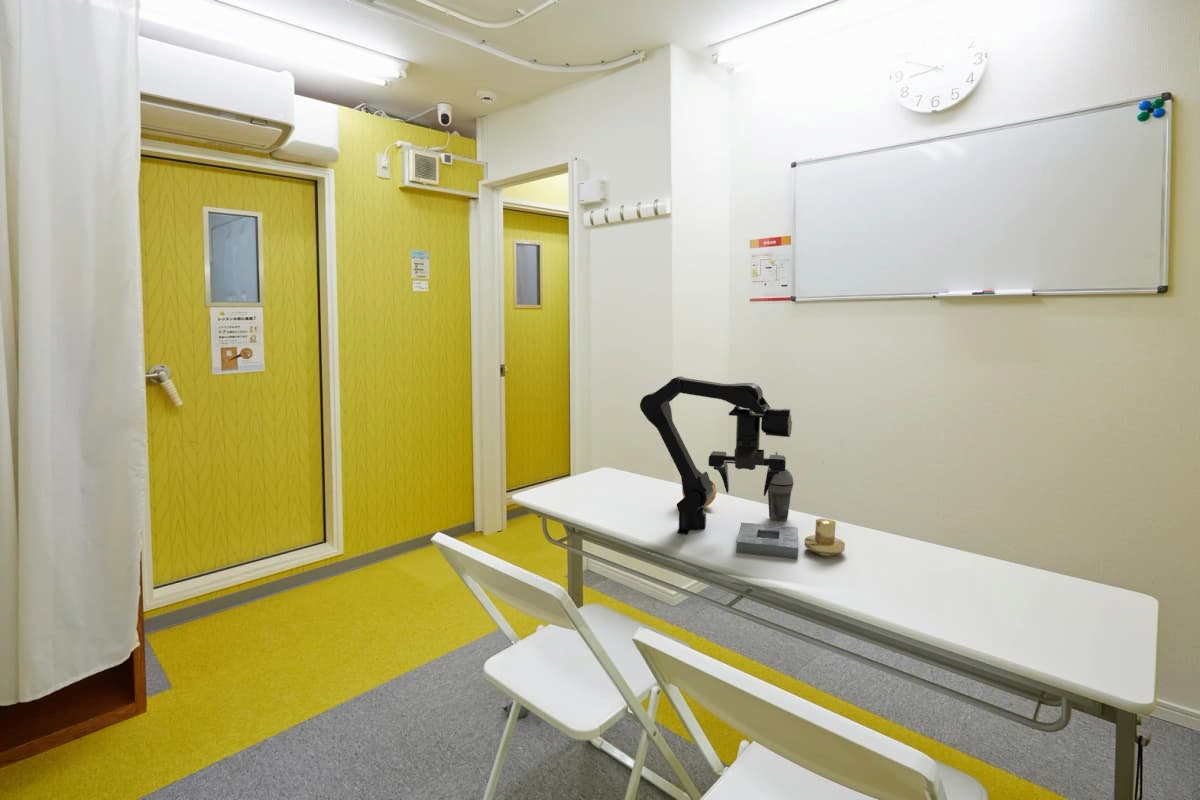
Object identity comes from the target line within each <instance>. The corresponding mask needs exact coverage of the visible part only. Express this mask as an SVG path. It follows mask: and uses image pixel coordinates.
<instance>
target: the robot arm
mask: <svg viewBox="0 0 1200 800" xmlns="http://www.w3.org/2000/svg"><path fill="white" fill-rule="evenodd" d="M679 394H683V395H685V394H686V395H691V396H696V397H704V398H711V399H716V400H721V401H725V402H727V403H729V404H730V405H733V406H734V407H733V409H731V411H729V412H728V416H731V417H732V416H733V417H736V428H735V429H736V433H735V434H736V435H735V449H734V455H727V451H720V450H719V451H715V450H714V451H711V453H710V454H709V456H708V467H712V468H713V470H716V471H717V472H718V473H719V475H720V476H721V479H722V483H723V485H724V489H725V492H726V493H727V494H728V493H729V492H730V491H729V489H730V483H729V469H728V468H729V467H728V464H732V465H733V464H734V468H735V469H737V470H741V469H743V470H750V471H753V470H755V469H756V466H765V467H767V472H766V478H765V482H764V487H763V496H764V497H766V495H767V494H768V487H769V485H770V482H771V480H772V478H773V477H774V475H775V474H779V473H780V471H785V469H786V463H787V462H786V461H787V460H786V459H787V458H786V456H785V455H784V454H783V455H781V454H780V455H779V454H778V455H776V454H769V457H767V458H765V450H764V449H760V438H761V437H760V435H761V433H760V432H761V431H762V433H764V434H765V436H771V437H783V438H784V437H785V438H791V434H792V429H793V428H792V427H793V421H792V415H791V409H790V408H780V409H779V408H771V406H770V405H769V404H768V402H767V400H766V398H764V394H763V390H762V388H761V386H759V384H757V383H756V382H755V383H754V382H738V383H736V382H735V383H721V382H715V381H709V380H700V379H695V378H688V377H684V376H676V377H674V378H671V379H670V380H669V382H668V383H667V384H665V385H663V386H662V387H661V388H659V389H657V390H656V391H655V392H651V393H649V394H645V395H644V396H643V397H642V398H641V400H640V403H639V409H640V411H641V412H642V413H643V415H644V416H645V418H646V419H647V421H648V422H649V423H651V424H652V425H653V426H654V427H655V428H656V430H657V431H658V433H659V435H660V437H661V439H662V441H663V444H664V446H665V448H666V449H667V451H668V453H669V456H670V457H671V459H672V461H673V463H674V465H675V467H676V469H677V471H678V472H679V475H680V478H681V487H682V488H683V492H684V495H685V497H683V498H682V499H680V501H678V502H676V508H677V511H678V529H677V534H681V535H688V534H689V533H690V531H699V530H702V531H703V530H706V527H707V514H706V513H705V507H702V506H704V505H705V503H706V502H707V501H708V500H709V499H710V498H711V497H712V494H713V487H712V486H713V485H715V484H713V483H714V482H713V483H712V482H711V481H710V479H711V478H710V477H709V473H708V471H704V472H703V473H702V472H701V471H700V470H699V469H698V468H697V467H696V465H695V463H694V461H693V458H692V457H691V455H690V452H689V450H688V449H687V447H686V444H685V443H684V441H683V439H682V437H681V435H680V433H679V431H678V429H677V427H676V425H675V422H674V420H673V413H672V408H671V404H670V403H671V401H673V400H674V399H675V398H676V397H678V396H679ZM709 478H710V479H709ZM682 488H681V489H682Z"/></svg>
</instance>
